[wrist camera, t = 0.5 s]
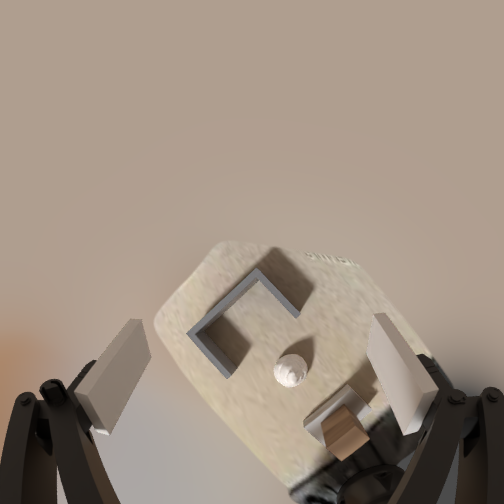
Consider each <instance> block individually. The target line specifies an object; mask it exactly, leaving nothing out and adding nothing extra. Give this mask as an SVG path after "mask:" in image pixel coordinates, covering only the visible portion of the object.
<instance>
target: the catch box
mask: <svg viewBox="0 0 504 504" xmlns="http://www.w3.org/2000/svg"><path fill="white" fill-rule="evenodd" d="M259 280H260V281H261V282H262V283H263V285H264V286H265V287H266V288H267V289H268V290H269V291H270V292H271V293H272V294H273V295H274V296H275V297H276V298H277V299H278V300H279V301H280V303H281V304H282V305H283V306H284V307H285V308H286V309H287V310H288V311H289V312H290V313H291V314H292V315H293V316H294V317H295V318H297V317H298V316H299V315H300V312H299V311H298V310H297V309H296V308H295V307H294V306H293V305H292V304H291V303H290V302H289V301H288V300H287V299H286V298H285V297H284V296H283V295H282V293H281V292H280V291H279V290H278V289H277V288H276V287H275V286H274V285H273V284H272V283H271V282H270V281H269V280H268V279H267V278H266V277H265V276H264V275H263V273H262V272H261V271H260V270H259V269H258V268H255V269H254V270H253V271H252V272H251V273H250V274H249V275H248V276H247V277H246V278H245V279H244V280H243V281H242V282H241V283H240V284H239V285H237V286H236V287H235V288H234V289H233V290H232V291H231V292H230V293H229V294H228V295H227V296H226V297H225V298H224V299H223V300H221V301H220V302H219V303H218V304H217V305H216V306H215V307H214V308H213V309H212V310H211V311H210V312H209V313H207V314H206V315H205V316H204V317H203V318H202V319H201V320H200V321H199V322H198V323H197V324H196V325H195V326H193V327H192V328H191V329H190V330H189V331H188V332H187V333H186V334H187V335H188V336H189V337H190V339H191V340H192V341H193V342H194V343H195V344H196V345H197V347H198V348H199V349H200V350H201V351H202V352H203V353H204V355H205V356H206V357H207V358H208V359H209V360H210V361H211V362H212V363H213V365H214V366H215V367H216V368H217V369H218V370H219V371H220V372H221V373H222V374H223V375H224V376H225V378H226V379H228V378H229V377H230V376H231V375H232V374H233V373H234V372H235V371H236V369H237V367H236V366H235V365H234V364H233V363H232V362H231V360H230V359H229V358H228V357H227V356H226V355H225V354H224V353H223V352H222V351H221V350H220V348H219V347H218V346H217V345H216V344H215V343H214V342H213V341H212V340H211V338H210V337H209V336H208V335H207V334H206V333H205V332H204V331H205V330H206V329H207V328H208V327H209V326H210V325H211V324H212V323H213V322H215V321H216V320H217V319H218V318H219V317H220V316H221V315H222V314H223V313H224V312H225V311H227V310H228V309H229V308H230V307H231V306H232V305H233V304H234V303H235V302H236V301H237V300H238V299H239V298H241V297H242V296H243V295H244V294H245V293H246V292H247V291H248V290H249V289H250V288H251V287H252V286H253V285H254V284H255V283H257V282H258V281H259Z"/></svg>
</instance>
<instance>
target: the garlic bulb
mask: <svg viewBox="0 0 504 504" xmlns="http://www.w3.org/2000/svg"><path fill="white" fill-rule="evenodd" d="M307 371H308V368H307V364H306V362H305V361H304V359H303V358H302V357H300V356H299V355H297V354H288V355H285V356H283V357H281V358H280V359H278V361H277V362H276V364H275V366H274V374H275V377H276V379H277V381H278V382H280V383H281V384H282V385H284V386H286V387H295V386H297V385H299V384H300V383H302V382H303V381H304V380H305V379H306V377H307Z"/></svg>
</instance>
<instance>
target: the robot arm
mask: <svg viewBox="0 0 504 504" xmlns="http://www.w3.org/2000/svg"><path fill="white" fill-rule="evenodd" d="M366 354H367V356H368V358H369V360H370V362H371V365H372V367H373V369H374V371H375V373H376V375H377V377H378V379H379V381H380V383H381V386H382V388H383V390H384V392H385V394H386V397H387V399H388V401H389V403H390V405H391V408H392V410H393V412H394V414H395V417H396V419H397V421H398V424H399V426H400V428H401V431H402V433H403V435H407V434H411V433H414V432H417V431H418V430H419V429H420V427H421V425H422V423H423V425H424V427H425V431H424V432H423V434H422V436H421V438H420V439H419V441H418V443H419V444H418V446H417V448H416V451H415V453H414V455H413V458H412V459H411V461H410V464H409V465H408V467H407V470H406V471H404V470H403V469H401V468H400V467H398V466H394V465H380V466H375V467H372V468H369V469H366V470H364V471H362V472H360V473H358V474H356V475H355V476H353V477H352V478H350V479H349V480H348V481H347V482H346V483H345V484H344V485H343V486H342V487H341V489H340V490H339V492H338V495H337V504H436V503H437V501H438V498H439V496H440V494H441V491H442V489H443V486H444V484H445V481H446V479H447V476H448V473H449V471H450V468H451V465H452V462H453V459H454V455H455V452H456V449H457V446H458V442H459V465H458V479H457V489H456V498H455V504H504V395H503V393H502V392H501V391H500V390H499V389H497V388H494V387H488V388H485V389H484V390H483V392H482V393H481V395H480V396H475V397H474V396H473V397H467V396H466V394H465V393H463V392H462V391H460V390H457V389H452V388H451V387H450V386H449V384H448V383H447V381H446V380H445V378H444V377H443V376H442V374H441V373H440V372H439V370H438V369H437V367H435V364H434V363H433V362H432V360H431V359H430V358H428V357H427V356H425V355H424V354H419V355H415V353H414V352H413V350H412V349H411V348H410V346H409V345H408V343H407V342H406V341H405V339H404V338H403V336H402V335H401V334H400V332H399V331H398V330H397V328H396V327H395V325H394V324H393V323H392V321H391V320H390V319H389V317H388V316H387V315H386V313H378V314H373V317H372V323H371V329H370V335H369V341H368V346H367V351H366ZM150 359H151V354H150V350H149V347H148V343H147V339H146V335H145V332H144V328H143V324H142V320H139V319H130V320H129V321H128V322H127V324H126V325H125V326H124V327H123V328H122V330H121V331H120V332H119V334H118V335H117V336H116V337H115V339H114V340H113V341H112V342H111V343H110V345H109V346H108V347H107V349H106V350H105V351H104V353H103V354H102V355H101V356H100V357H99V359H98V360H92V361H91V362H89V363H88V364H87V365H85V367H84V368H83V369H82V370H81V372H80V373H79V374H78V377H76V378H75V379H74V381H73V382H72V383H71V385H70V386H69V387H68V389H67V390H66V389H65V387H64V385H63V383H62V381H60V380H58V379H51V380H48V381H46V382H44V383H43V384H42V385H41V387H40V390H39V391H40V393H41V395H42V397H43V398H44V400H37V398H36V397H35V395H34V394H33V393H31V392H24V393H22V394H20V395H19V396H18V397H17V398H16V400H15V403H14V407H13V410H12V414H11V417H10V421H9V425H8V429H7V433H6V438H5V442H4V447H3V452H2V457H1V463H0V504H57V466H58V471H59V474H60V478H61V482H62V485H63V489H64V492H65V496H66V499H67V502H68V504H121V503H120V501H119V499H118V498H117V495H116V493H115V491H114V489H113V487H112V485H111V483H110V480H109V478H108V476H107V473H106V471H105V468H104V466H103V463H102V461H101V458H100V456H99V453H98V450H97V447H96V445H95V442H94V439H93V436H92V433H91V432H90V430H89V429H90V427H91V426H92V425H93V426H94V428H95V430H96V431H97V432H99V433H102V434H106V435H110V434H111V432H112V430H113V429H114V427H115V425H116V423H117V421H118V419H119V417H120V415H121V413H122V411H123V409H124V407H125V405H126V404H127V402H128V400H129V398H130V396H131V394H132V392H133V390H134V389H135V387H136V385H137V383H138V381H139V379H140V377H141V375H142V373H143V372H144V370H145V368H146V366H147V365H148V363H149V361H150Z"/></svg>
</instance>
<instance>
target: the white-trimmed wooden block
mask: <svg viewBox="0 0 504 504" xmlns="http://www.w3.org/2000/svg"><path fill="white" fill-rule="evenodd" d="M371 411H372V409H371V408H370V406H369V405H368V404H367V403H366V402H365V401H364V400H363V399H362V398H361V397H360V396H359V395H358V394H357V393H356V392H355V391H354V390H353V389H352V388H351V387H350V386H349V385H348V384H347V385H346V386H345V387H343V388H342V389H341V390H340V391H339V392H338V393H337V394H335V395H334V396H333V397H332V398H331V399H330V400H329V401H327V402H326V403H325V404H324V405H323V406H321V407H320V408H319V409H318V410H316V411H315V412H314V413H313V414H311V415H310V416H309V417H308V418H306V419H305V420H304V421H303V424H304V428H305V429H306V430H307V431H308V432H309V433H310V434H311V435H312V436H314V437H315V438H316V439H317V440H318V441H319V442H320V443H322V444H323V445H324V446H325V447H326V449H328V450H329V451H330V452H331V453H332V454H334V455H335V456H336V457H337V458H338V459H340V460H341V461H342V460H344V459H345V458H346V457H348V456H349V455H350V454H352V453H353V452H354V451H356V450H357V449H358V448H359V447H361V446H362V445H363V444H364V443H366V442H367V441H368V440H369V439H370V438H369V437H368V435H367V433H366V431H365V430H364V428H363V426H362V424H361V423H360V421H361V420H362V419H363V418H364V417H365V416H366V415H368V414H369V413H370V412H371Z"/></svg>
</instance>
